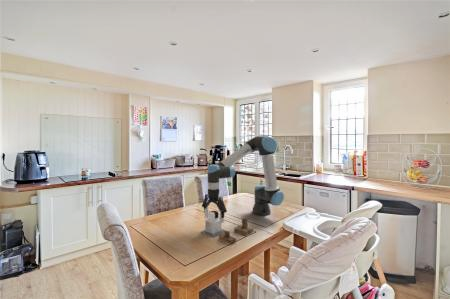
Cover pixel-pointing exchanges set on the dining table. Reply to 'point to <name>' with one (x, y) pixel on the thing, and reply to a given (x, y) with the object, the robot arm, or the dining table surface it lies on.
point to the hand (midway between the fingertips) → (213, 220)
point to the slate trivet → (213, 234)
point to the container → (213, 223)
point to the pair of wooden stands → (239, 229)
